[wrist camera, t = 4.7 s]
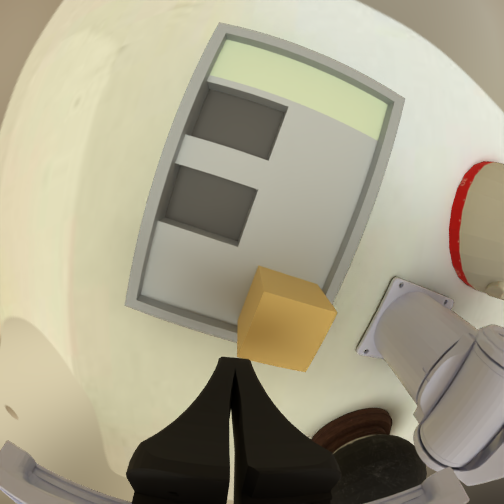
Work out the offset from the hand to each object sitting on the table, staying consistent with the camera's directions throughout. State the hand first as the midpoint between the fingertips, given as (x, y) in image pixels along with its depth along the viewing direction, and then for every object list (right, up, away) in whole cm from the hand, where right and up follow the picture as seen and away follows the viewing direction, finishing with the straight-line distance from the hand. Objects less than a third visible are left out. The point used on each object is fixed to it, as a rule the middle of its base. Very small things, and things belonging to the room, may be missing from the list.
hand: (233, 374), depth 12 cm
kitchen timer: (+26, +8, +9) cm, 29 cm away
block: (+3, +2, +8) cm, 8 cm away
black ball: (+14, -18, +16) cm, 28 cm away
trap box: (+2, +10, +8) cm, 13 cm away
